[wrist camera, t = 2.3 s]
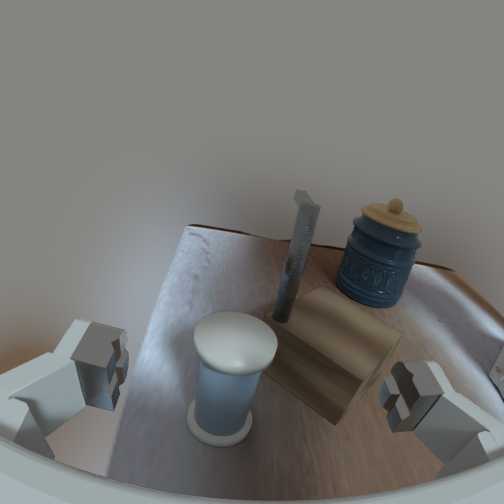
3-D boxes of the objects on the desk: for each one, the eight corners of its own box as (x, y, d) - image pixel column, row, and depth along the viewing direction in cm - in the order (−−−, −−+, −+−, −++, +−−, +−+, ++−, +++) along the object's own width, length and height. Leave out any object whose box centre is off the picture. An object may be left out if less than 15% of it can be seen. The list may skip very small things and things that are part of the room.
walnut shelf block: (307, 328, 43) (322, 285, 40) (379, 375, 36) (403, 332, 33) (252, 362, 35) (264, 314, 32) (335, 425, 28) (362, 380, 25)
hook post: (284, 292, 37) (309, 192, 32) (289, 324, 32) (322, 209, 27) (268, 290, 37) (292, 188, 32) (272, 321, 31) (302, 205, 26)
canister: (391, 319, 48) (431, 219, 41) (323, 288, 54) (353, 189, 47) (403, 290, 59) (434, 207, 51) (346, 265, 65) (371, 184, 57)
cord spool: (221, 388, 31) (238, 303, 26) (263, 425, 27) (294, 343, 23) (174, 413, 27) (177, 326, 22) (216, 458, 23) (233, 379, 19)
